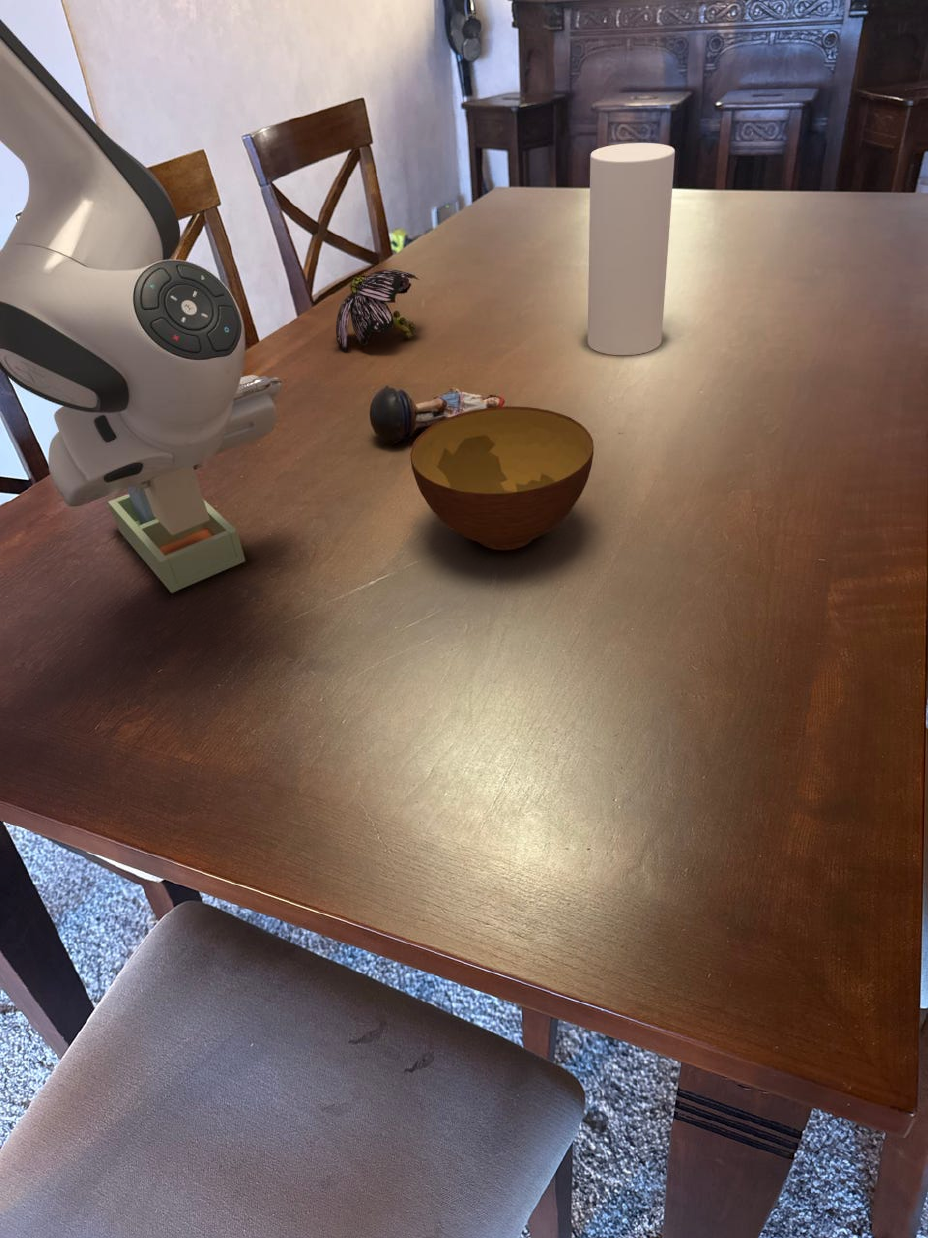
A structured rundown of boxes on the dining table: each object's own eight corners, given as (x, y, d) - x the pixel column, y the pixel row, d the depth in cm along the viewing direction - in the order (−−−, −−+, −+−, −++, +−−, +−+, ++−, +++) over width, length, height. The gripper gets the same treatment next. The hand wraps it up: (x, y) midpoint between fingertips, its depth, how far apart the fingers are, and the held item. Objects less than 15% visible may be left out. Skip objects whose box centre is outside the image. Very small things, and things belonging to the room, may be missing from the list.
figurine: (363, 374, 105) (501, 362, 110) (361, 419, 110) (494, 405, 115) (378, 412, 100) (522, 398, 105) (376, 457, 105) (513, 441, 110)
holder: (171, 593, 85) (160, 562, 83) (119, 531, 95) (107, 501, 93) (245, 561, 89) (236, 530, 87) (187, 504, 99) (178, 475, 97)
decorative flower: (350, 258, 136) (419, 238, 126) (388, 321, 143) (456, 307, 133) (299, 313, 129) (368, 297, 120) (342, 377, 136) (410, 366, 127)
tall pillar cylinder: (573, 345, 127) (573, 156, 111) (614, 322, 133) (621, 139, 117) (634, 361, 121) (644, 163, 105) (675, 336, 127) (690, 145, 111)
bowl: (586, 588, 81) (587, 496, 75) (404, 580, 84) (391, 491, 78) (596, 491, 94) (598, 406, 88) (438, 487, 98) (430, 405, 91)
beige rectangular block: (172, 535, 84) (143, 453, 78) (153, 515, 87) (124, 435, 82) (210, 520, 86) (184, 438, 80) (190, 501, 89) (164, 421, 83)
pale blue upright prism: (156, 542, 92) (129, 466, 86) (139, 523, 95) (112, 449, 89) (191, 527, 93) (167, 453, 88) (173, 510, 97) (149, 437, 91)
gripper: (267, 341, 76) (245, 410, 88) (32, 417, 67) (45, 481, 80) (301, 404, 76) (274, 464, 88) (71, 488, 67) (77, 541, 80)
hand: (164, 473), depth 84 cm, fingers closed on beige rectangular block, 4 cm apart
